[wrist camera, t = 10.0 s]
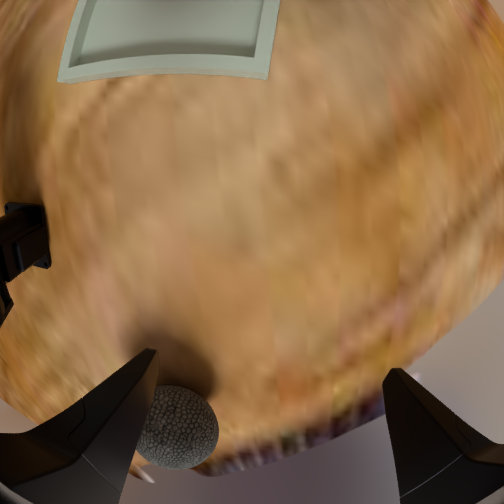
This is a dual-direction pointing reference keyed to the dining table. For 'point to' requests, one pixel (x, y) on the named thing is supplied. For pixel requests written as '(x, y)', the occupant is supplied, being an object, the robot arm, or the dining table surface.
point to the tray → (169, 38)
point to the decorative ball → (178, 429)
